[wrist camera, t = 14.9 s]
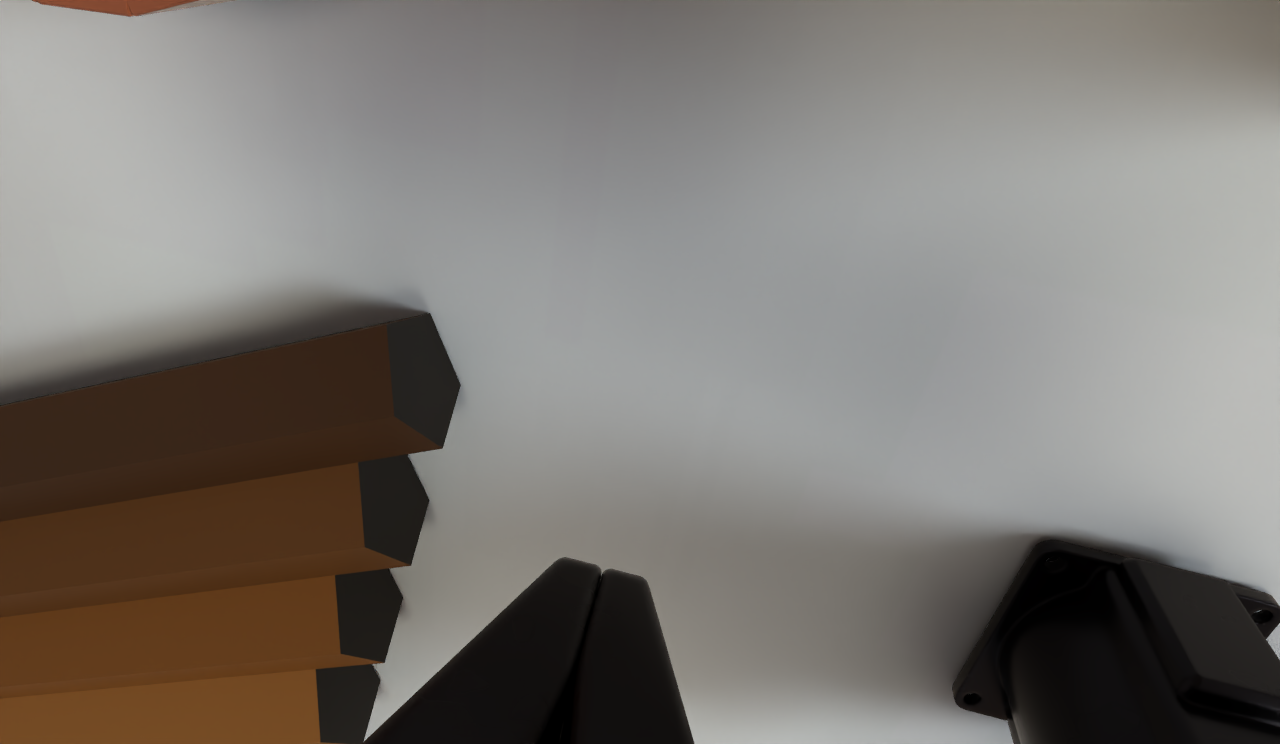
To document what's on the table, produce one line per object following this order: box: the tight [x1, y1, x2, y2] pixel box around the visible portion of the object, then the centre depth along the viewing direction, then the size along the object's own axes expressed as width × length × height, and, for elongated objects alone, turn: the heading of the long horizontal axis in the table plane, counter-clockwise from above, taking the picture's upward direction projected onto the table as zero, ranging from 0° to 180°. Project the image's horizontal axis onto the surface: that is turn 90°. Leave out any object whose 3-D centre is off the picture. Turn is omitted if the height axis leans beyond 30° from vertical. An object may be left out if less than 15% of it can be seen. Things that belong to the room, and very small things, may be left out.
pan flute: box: [0, 313, 460, 744], centre depth 29 cm, size 25×3×25 cm
